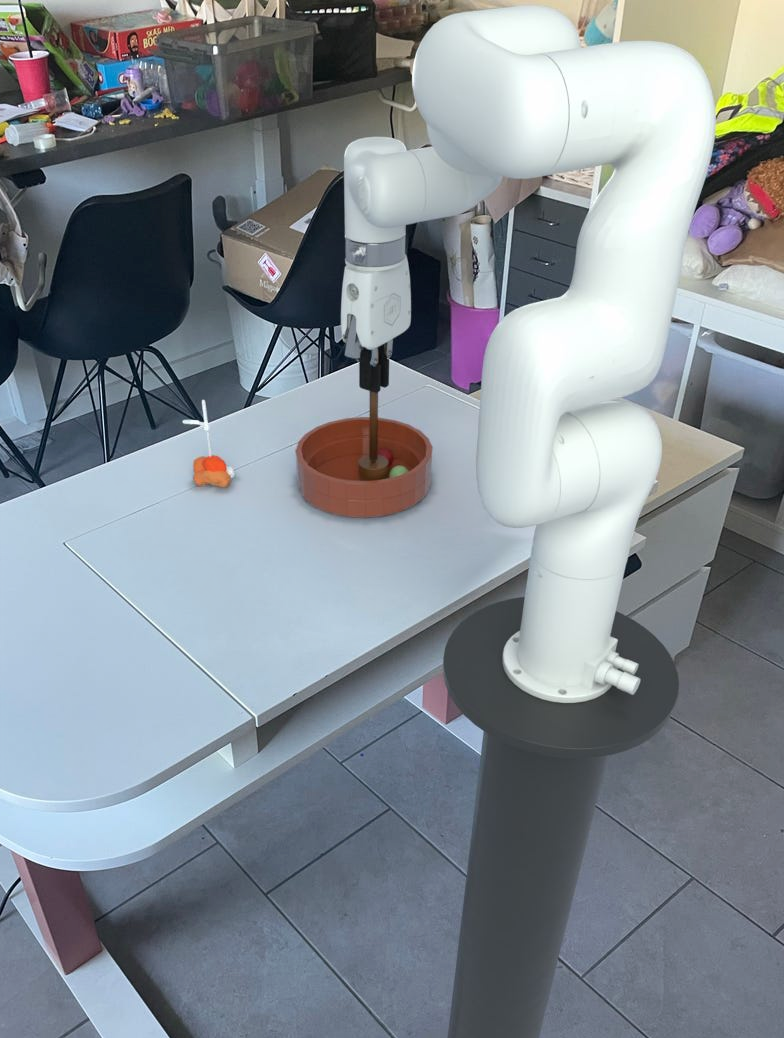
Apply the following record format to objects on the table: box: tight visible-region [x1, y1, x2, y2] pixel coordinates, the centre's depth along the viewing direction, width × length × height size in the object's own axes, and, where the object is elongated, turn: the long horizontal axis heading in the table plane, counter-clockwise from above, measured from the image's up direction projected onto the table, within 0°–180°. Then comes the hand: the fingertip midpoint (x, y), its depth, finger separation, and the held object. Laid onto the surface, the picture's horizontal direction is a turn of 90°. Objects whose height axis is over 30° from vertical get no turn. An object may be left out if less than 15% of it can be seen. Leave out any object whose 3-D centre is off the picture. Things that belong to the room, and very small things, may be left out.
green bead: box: [389, 466, 408, 478], centre depth 137 cm, size 3×3×3 cm
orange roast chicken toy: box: [182, 399, 236, 488], centre depth 139 cm, size 6×10×12 cm, turn 38°
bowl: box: [295, 416, 433, 518], centre depth 137 cm, size 20×20×6 cm
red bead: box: [378, 448, 393, 467], centre depth 141 cm, size 3×3×3 cm
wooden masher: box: [358, 351, 389, 481], centre depth 132 cm, size 4×4×19 cm
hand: (374, 386), depth 129 cm, fingers closed on wooden masher, 1 cm apart
